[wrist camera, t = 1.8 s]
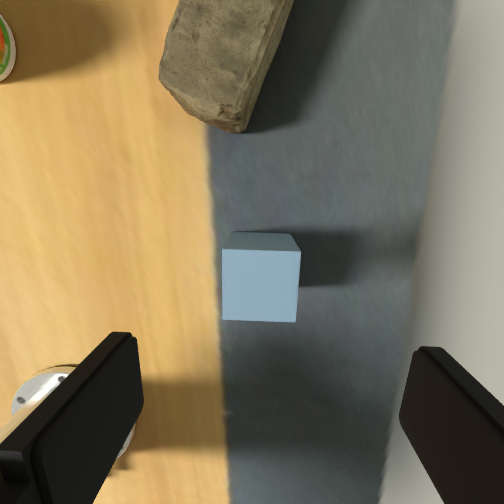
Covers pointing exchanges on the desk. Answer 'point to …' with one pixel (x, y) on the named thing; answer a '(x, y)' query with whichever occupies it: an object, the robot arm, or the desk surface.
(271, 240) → the slate cube
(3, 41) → the supplement bottle
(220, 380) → the desk surface
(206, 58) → the stone block
